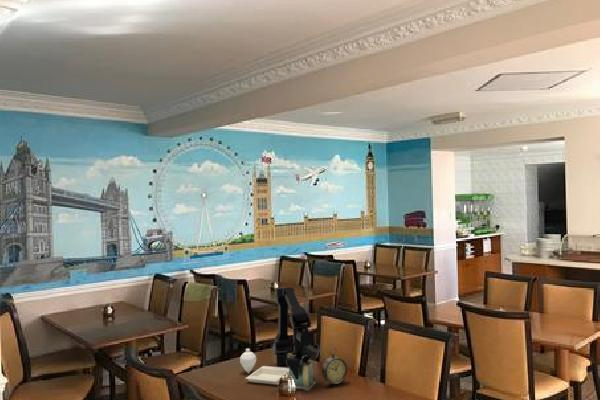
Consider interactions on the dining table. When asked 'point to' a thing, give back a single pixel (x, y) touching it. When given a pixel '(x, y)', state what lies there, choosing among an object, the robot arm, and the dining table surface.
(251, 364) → the spinning top
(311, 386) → the mat
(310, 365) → the tea tin
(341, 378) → the alarm clock
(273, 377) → the white rectangular tray
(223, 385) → the dining table surface
